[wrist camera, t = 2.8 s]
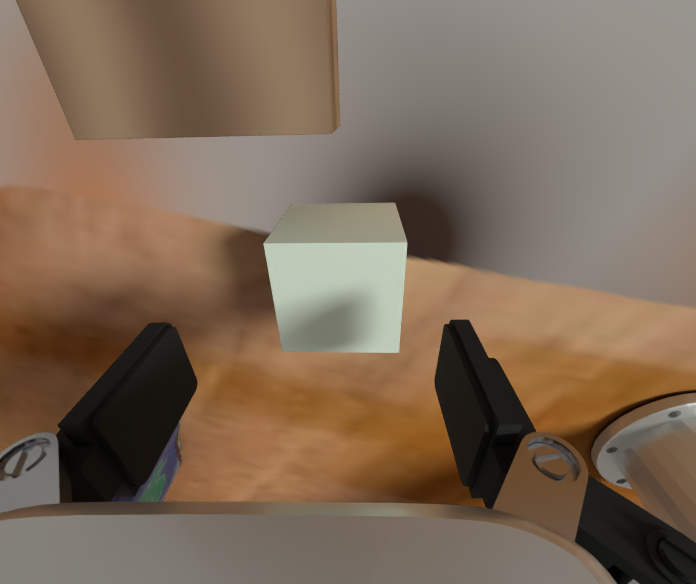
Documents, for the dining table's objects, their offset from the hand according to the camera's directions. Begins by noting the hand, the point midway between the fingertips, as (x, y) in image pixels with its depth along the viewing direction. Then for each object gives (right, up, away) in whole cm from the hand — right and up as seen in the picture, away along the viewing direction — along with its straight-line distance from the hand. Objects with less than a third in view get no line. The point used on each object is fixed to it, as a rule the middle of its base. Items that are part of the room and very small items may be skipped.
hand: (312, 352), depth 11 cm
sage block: (+1, +5, +9) cm, 10 cm away
